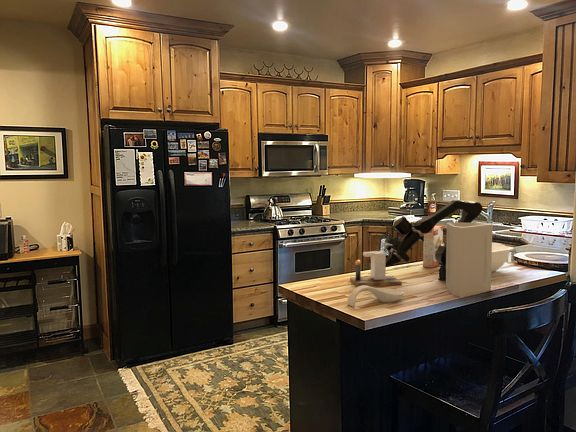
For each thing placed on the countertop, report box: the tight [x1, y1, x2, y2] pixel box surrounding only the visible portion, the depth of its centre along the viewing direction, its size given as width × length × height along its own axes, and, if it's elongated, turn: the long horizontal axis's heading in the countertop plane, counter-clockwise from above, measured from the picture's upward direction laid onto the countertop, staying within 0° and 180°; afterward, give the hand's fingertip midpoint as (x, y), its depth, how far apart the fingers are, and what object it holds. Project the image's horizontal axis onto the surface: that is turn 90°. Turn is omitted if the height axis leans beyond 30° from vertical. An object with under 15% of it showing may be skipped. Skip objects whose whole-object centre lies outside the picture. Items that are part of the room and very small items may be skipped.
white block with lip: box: [362, 250, 387, 280], centre depth 211 cm, size 9×6×12 cm, turn 96°
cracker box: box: [422, 225, 444, 269], centre depth 247 cm, size 14×6×21 cm, turn 143°
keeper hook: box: [354, 259, 362, 280], centre depth 210 cm, size 3×3×9 cm
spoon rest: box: [346, 285, 405, 308], centre depth 180 cm, size 24×12×7 cm, turn 116°
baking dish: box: [438, 242, 514, 273], centre depth 233 cm, size 34×28×13 cm
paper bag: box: [445, 222, 493, 298], centre depth 195 cm, size 19×15×28 cm
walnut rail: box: [349, 275, 403, 288], centre depth 212 cm, size 20×12×2 cm, turn 96°
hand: (384, 266), depth 211 cm, fingers closed
